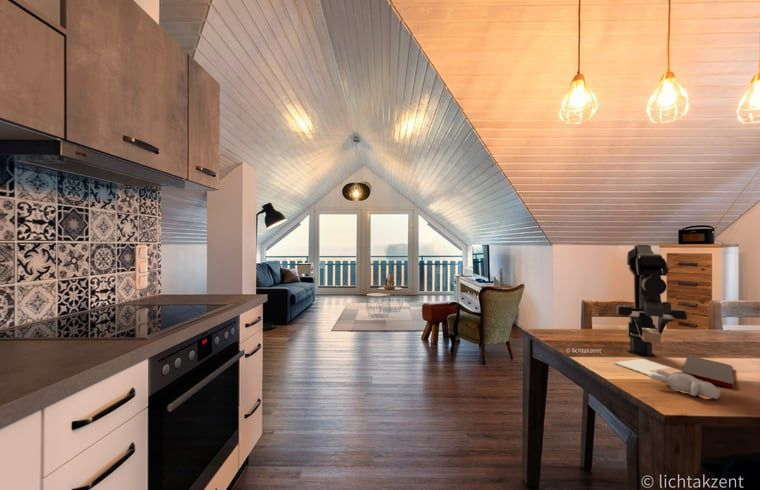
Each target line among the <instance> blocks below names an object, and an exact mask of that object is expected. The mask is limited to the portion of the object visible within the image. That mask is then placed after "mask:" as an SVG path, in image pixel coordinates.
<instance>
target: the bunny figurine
mask: <svg viewBox="0 0 760 490" xmlns="http://www.w3.org/2000/svg"><path fill="white" fill-rule="evenodd" d="M657 374H660V375H662V376H660V375H656V374H651V376H650V377H649V378H650V379H652V380H655V381H658V382H665V383H666V382H667V383H668V385H669V386H670V388H671V390H673V389H675V390H679V391H684V392H689V393H690V394H689V395H690V396H694V397H696V395H701V396H705V397H709V398H714V399H715V400H718V398H720V397H721V392H722V391H721V390H720V389H718V388H717V387H716V386H715V385H714V383H710V382H706V381H702V380H699V379H696V378H694V377H693V376H691V375H689V374H686V373H683V372H676V373H671V374H668V373H666V372H664V371H662V370H657ZM664 376H665V377H664ZM714 399H713V400H714Z"/></svg>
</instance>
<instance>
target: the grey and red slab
mask: <svg viewBox="0 0 760 490" xmlns="http://www.w3.org/2000/svg"><path fill="white" fill-rule="evenodd" d="M681 371H683V373H686V374H689V375H691V376H693V377H694V378H696V379H699V380H702V381H704V382H709V383H711V384H713V385H714V384H715V385H719V386H722V387H728V388H729V387H730V388H733V387H734V383H735V380H734V377H733V373H734V366H733V365H730V364H728V363H724V362H721V361H720V362H719V361H714V360H710V359H705V358H701V357H696V356H690V355H688V356H686V359H685V362H684V364H683V367H682V369H681Z"/></svg>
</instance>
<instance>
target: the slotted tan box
mask: <svg viewBox="0 0 760 490" xmlns="http://www.w3.org/2000/svg"><path fill="white" fill-rule="evenodd" d="M639 336H640V334H639ZM661 336H662V334H660V333H659V332H658V331H657V330H656V329H651V328H642V336H640V337H641V338H642V340H643V341H645V342H651V343H655V344H661V342H662V337H661Z"/></svg>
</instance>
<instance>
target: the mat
mask: <svg viewBox="0 0 760 490" xmlns="http://www.w3.org/2000/svg"><path fill="white" fill-rule="evenodd" d="M613 364H614V365H616V364H617V365H616V366H618V365H620V366H619V367H621V366H624V367H627V368H630V369H633V370H636V371H639V372H642V373H644V374H647V375H650V376H651V374H656V375H660V374H657V370H662V371H664V372H666V373H668V374H671V373H676V372H683V371H682V369H681V370H679V369H677V368H674V367H671V366H668V365H664V364H661V363H659V362H655V361H651V360H648V359H645V358H640V359H631V360H623V361H622V360H621V361H614V362H613ZM624 367H623V368H624ZM627 368H626V369H627ZM630 369H629V370H630ZM644 374H643V375H644ZM660 376H662V375H660ZM664 377H665V376H664Z"/></svg>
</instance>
